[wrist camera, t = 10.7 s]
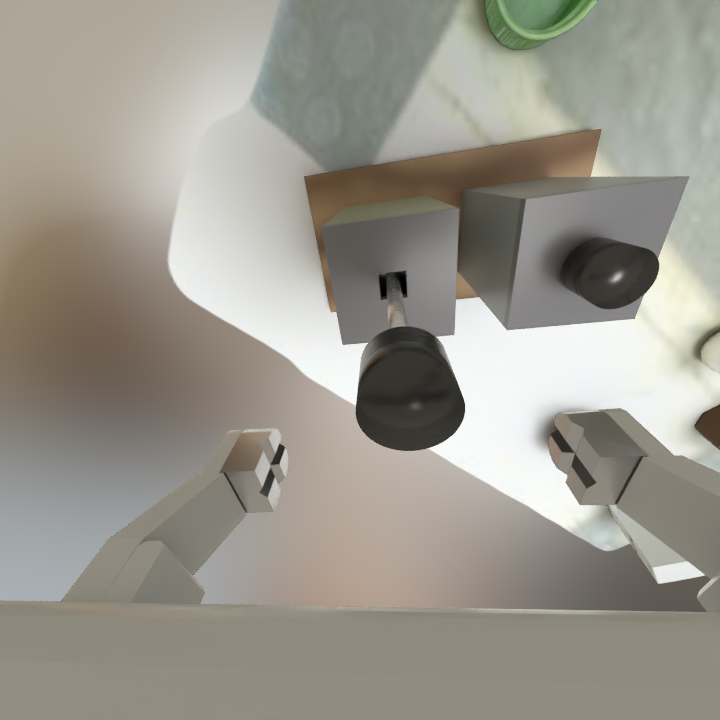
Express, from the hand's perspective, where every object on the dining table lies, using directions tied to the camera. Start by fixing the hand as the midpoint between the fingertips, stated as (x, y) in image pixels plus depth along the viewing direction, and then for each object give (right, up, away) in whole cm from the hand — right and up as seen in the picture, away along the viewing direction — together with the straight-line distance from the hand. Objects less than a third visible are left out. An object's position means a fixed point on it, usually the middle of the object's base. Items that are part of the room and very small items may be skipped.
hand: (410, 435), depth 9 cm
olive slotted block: (+2, +16, +26) cm, 31 cm away
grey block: (+15, +17, +25) cm, 34 cm away
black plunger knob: (+1, +11, +18) cm, 21 cm away
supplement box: (+54, -27, +52) cm, 80 cm away
